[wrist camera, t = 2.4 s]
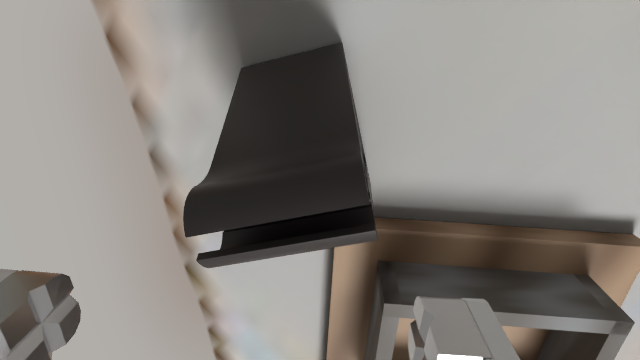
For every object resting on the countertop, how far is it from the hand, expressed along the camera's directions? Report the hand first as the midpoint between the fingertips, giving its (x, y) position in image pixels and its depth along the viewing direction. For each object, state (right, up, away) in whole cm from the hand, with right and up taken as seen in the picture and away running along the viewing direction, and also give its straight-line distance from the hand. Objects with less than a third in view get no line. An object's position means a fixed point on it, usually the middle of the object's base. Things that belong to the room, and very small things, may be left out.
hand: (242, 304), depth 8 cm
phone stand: (+1, +6, +14) cm, 15 cm away
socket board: (+13, -7, +19) cm, 24 cm away
